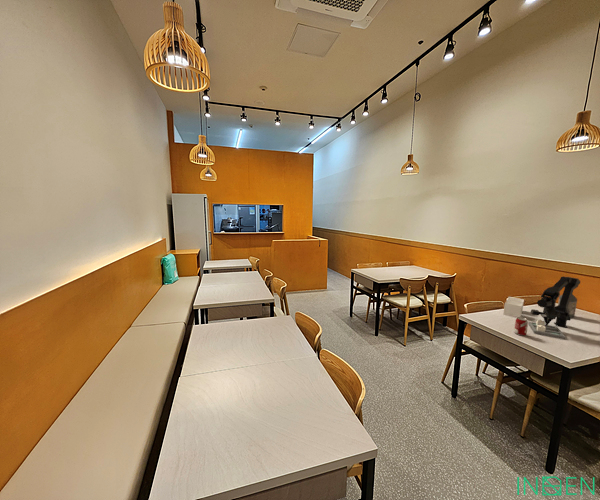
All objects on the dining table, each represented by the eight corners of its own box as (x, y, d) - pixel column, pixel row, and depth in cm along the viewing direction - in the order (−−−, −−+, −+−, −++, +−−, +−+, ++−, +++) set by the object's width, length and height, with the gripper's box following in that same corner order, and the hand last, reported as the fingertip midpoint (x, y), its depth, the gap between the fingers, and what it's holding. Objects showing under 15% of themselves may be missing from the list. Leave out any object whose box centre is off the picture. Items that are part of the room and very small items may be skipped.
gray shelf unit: (528, 324, 195) (528, 321, 194) (556, 329, 186) (556, 326, 186) (534, 333, 179) (534, 330, 179) (565, 339, 170) (565, 336, 170)
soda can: (515, 334, 176) (517, 319, 175) (512, 331, 182) (514, 316, 181) (527, 337, 173) (530, 321, 172) (524, 333, 179) (526, 317, 177)
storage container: (519, 318, 206) (521, 306, 204) (503, 314, 214) (504, 302, 212) (522, 310, 223) (524, 299, 221) (507, 307, 231) (508, 296, 229)
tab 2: (536, 329, 182) (537, 324, 181) (543, 331, 180) (544, 325, 179) (537, 331, 179) (538, 325, 179) (544, 332, 177) (545, 326, 176)
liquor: (575, 317, 209) (581, 283, 204) (567, 318, 207) (573, 284, 202) (562, 313, 217) (567, 280, 213) (554, 314, 215) (560, 281, 211)
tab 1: (535, 324, 191) (536, 319, 190) (542, 325, 189) (543, 320, 188) (537, 326, 188) (537, 320, 187) (544, 327, 186) (545, 321, 185)
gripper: (535, 306, 182) (532, 325, 184) (571, 311, 172) (567, 332, 174) (531, 302, 192) (529, 320, 194) (565, 307, 181) (562, 326, 184)
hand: (546, 325), depth 186 cm, fingers closed
